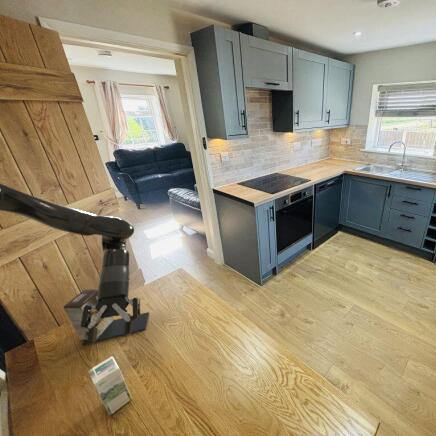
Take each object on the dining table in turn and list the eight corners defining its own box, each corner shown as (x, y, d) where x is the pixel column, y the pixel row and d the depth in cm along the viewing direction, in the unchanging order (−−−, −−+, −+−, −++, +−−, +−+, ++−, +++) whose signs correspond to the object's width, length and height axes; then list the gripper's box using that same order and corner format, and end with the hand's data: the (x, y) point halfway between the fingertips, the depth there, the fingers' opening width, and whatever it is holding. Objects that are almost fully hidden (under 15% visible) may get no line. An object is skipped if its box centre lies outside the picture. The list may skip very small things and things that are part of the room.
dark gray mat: (82, 345, 85) (81, 344, 85) (91, 326, 93) (91, 325, 93) (145, 329, 92) (145, 328, 92) (149, 313, 100) (148, 312, 99)
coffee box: (98, 320, 95) (84, 288, 89) (113, 320, 95) (101, 288, 88) (78, 340, 87) (62, 306, 80) (96, 340, 87) (81, 307, 80)
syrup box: (125, 386, 73) (111, 354, 67) (132, 400, 69) (119, 367, 64) (103, 402, 69) (86, 369, 63) (109, 417, 65) (93, 384, 60)
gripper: (80, 284, 68) (72, 346, 63) (135, 276, 72) (133, 334, 67) (94, 287, 75) (88, 343, 70) (144, 280, 79) (142, 332, 73)
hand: (110, 339), depth 68 cm, fingers open, 8 cm apart
